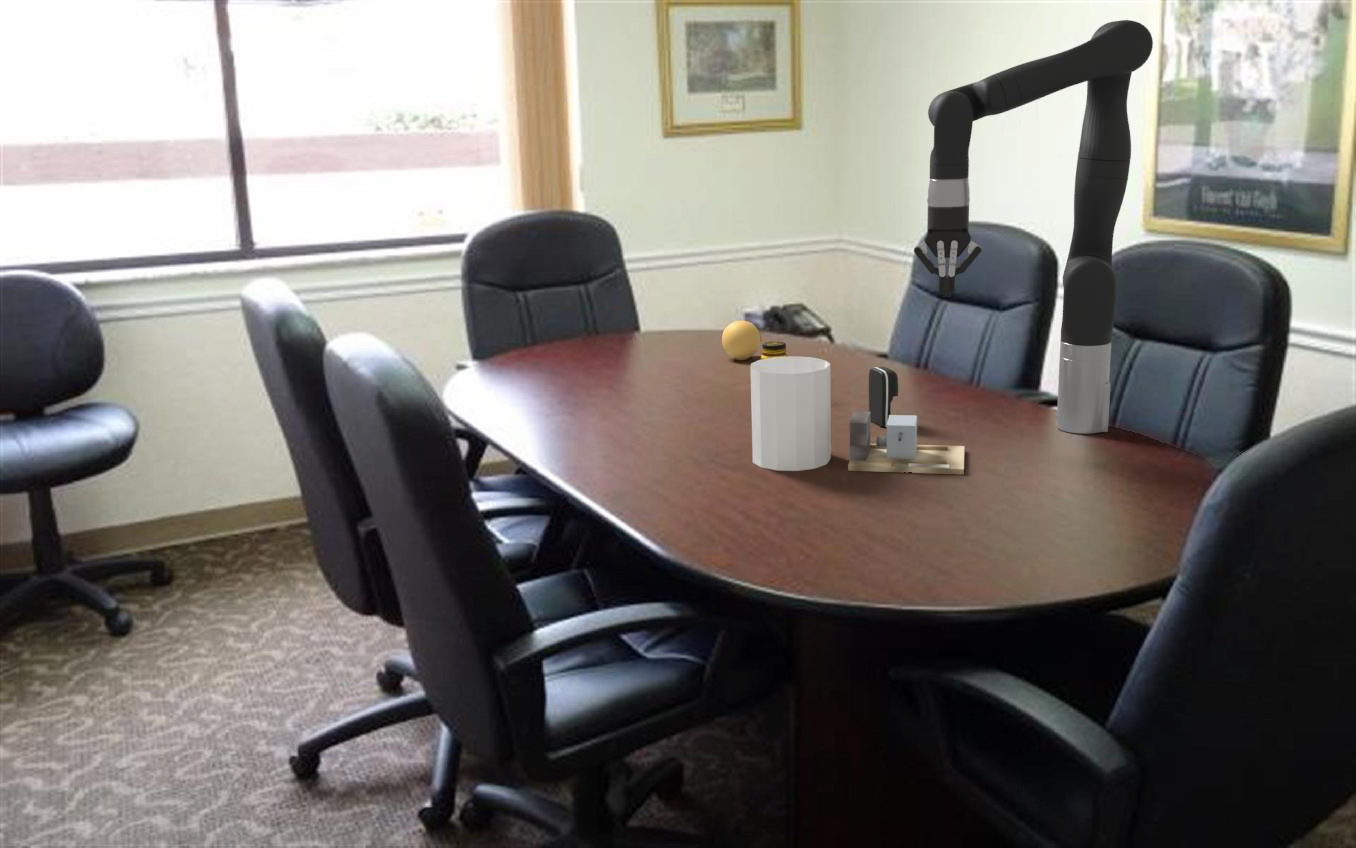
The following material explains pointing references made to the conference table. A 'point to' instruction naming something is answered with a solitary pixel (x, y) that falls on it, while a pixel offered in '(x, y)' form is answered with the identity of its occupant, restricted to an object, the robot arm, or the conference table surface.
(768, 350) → the condiment
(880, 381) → the battery charger
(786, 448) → the container
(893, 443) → the block
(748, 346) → the stress ball
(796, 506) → the conference table surface
